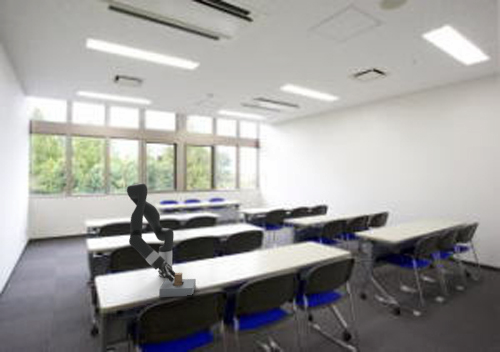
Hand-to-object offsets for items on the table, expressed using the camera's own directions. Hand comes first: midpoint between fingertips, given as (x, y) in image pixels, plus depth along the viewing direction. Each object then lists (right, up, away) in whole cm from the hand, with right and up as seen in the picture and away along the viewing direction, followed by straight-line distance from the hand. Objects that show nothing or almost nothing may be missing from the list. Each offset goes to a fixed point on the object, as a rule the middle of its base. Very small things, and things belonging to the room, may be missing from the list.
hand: (174, 278), depth 164 cm
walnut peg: (+2, -7, 0) cm, 7 cm away
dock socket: (+3, -8, 0) cm, 8 cm away
